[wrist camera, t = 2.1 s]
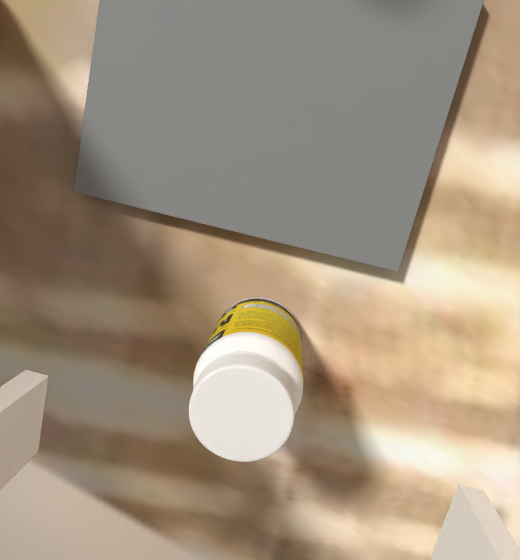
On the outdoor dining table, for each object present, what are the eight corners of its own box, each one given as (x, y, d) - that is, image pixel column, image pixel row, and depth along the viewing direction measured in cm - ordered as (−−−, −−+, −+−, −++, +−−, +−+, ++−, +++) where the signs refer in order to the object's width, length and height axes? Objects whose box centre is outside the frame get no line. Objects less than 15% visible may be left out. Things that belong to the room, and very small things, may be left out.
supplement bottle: (227, 285, 24) (193, 338, 16) (312, 308, 24) (321, 373, 16) (207, 365, 25) (166, 453, 17) (288, 387, 25) (286, 486, 17)
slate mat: (80, 191, 24) (73, 191, 23) (120, -87, 21) (113, -98, 20) (394, 268, 23) (397, 271, 22) (479, -3, 20) (487, -11, 19)
